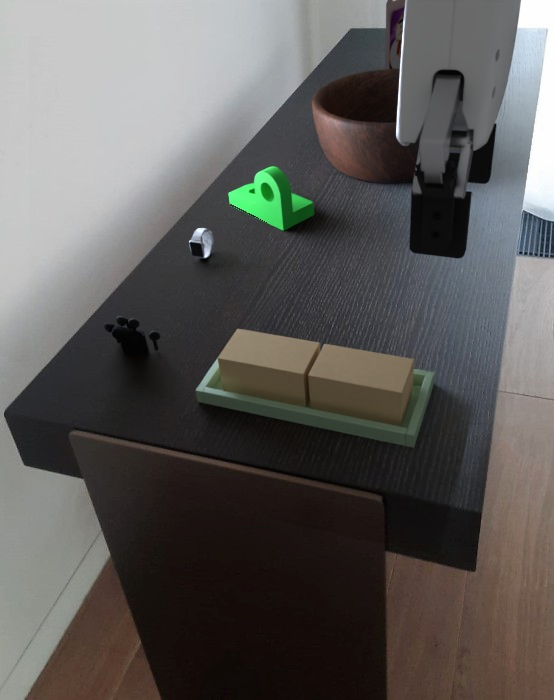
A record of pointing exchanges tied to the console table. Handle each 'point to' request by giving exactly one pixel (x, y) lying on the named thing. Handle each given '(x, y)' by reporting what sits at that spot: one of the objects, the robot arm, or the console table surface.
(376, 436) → the tray
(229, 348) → the beige block
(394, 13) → the greeting card
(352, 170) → the wooden bowl
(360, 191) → the console table surface
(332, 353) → the tan rectangular block
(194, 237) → the smartwatch
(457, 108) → the robot arm
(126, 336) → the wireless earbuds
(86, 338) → the console table surface
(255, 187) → the mechanical part
